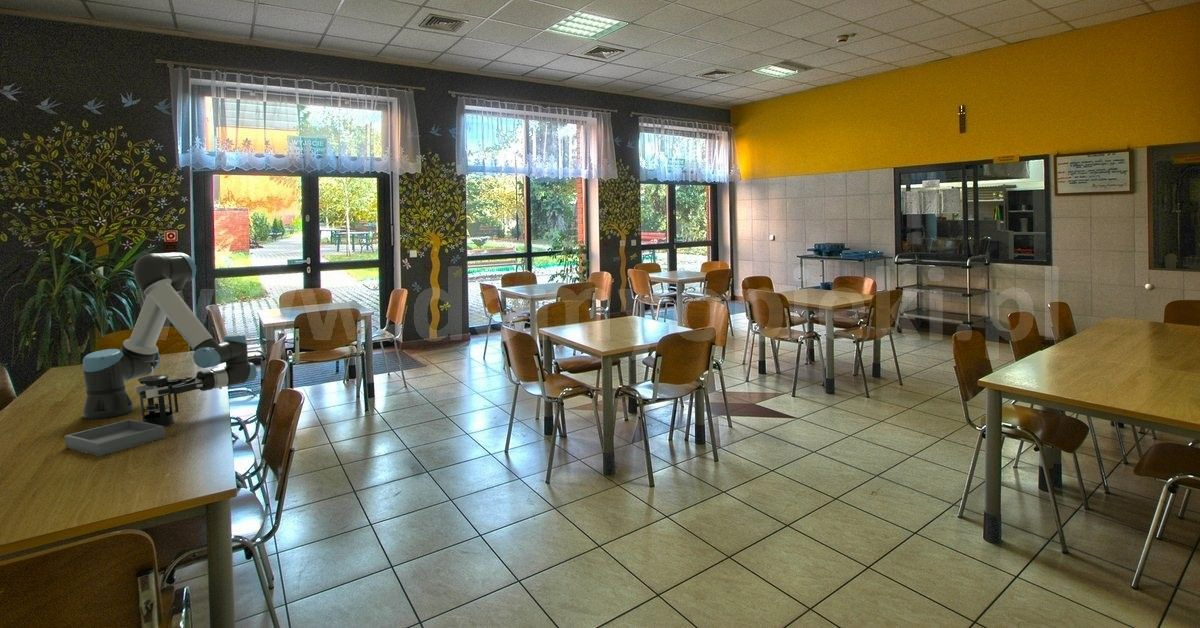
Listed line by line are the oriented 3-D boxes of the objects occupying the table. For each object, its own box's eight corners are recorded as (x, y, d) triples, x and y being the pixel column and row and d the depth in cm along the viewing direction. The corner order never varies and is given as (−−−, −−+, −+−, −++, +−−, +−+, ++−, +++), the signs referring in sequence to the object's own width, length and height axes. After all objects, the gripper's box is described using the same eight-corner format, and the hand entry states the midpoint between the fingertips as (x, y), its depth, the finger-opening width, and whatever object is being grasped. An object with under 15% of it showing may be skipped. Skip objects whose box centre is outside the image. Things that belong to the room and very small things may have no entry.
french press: (147, 430, 217) (139, 365, 214) (135, 426, 222) (127, 361, 219) (184, 421, 227) (178, 358, 223) (172, 417, 232) (165, 355, 229)
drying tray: (66, 447, 200) (64, 435, 200) (131, 430, 217) (130, 419, 217) (99, 456, 192) (98, 444, 192) (165, 437, 209) (163, 426, 209)
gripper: (225, 393, 232) (154, 407, 213) (199, 385, 244) (130, 398, 226) (223, 373, 230) (152, 386, 212) (197, 366, 243) (128, 377, 225)
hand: (141, 392), depth 219 cm, fingers closed on french press, 8 cm apart
